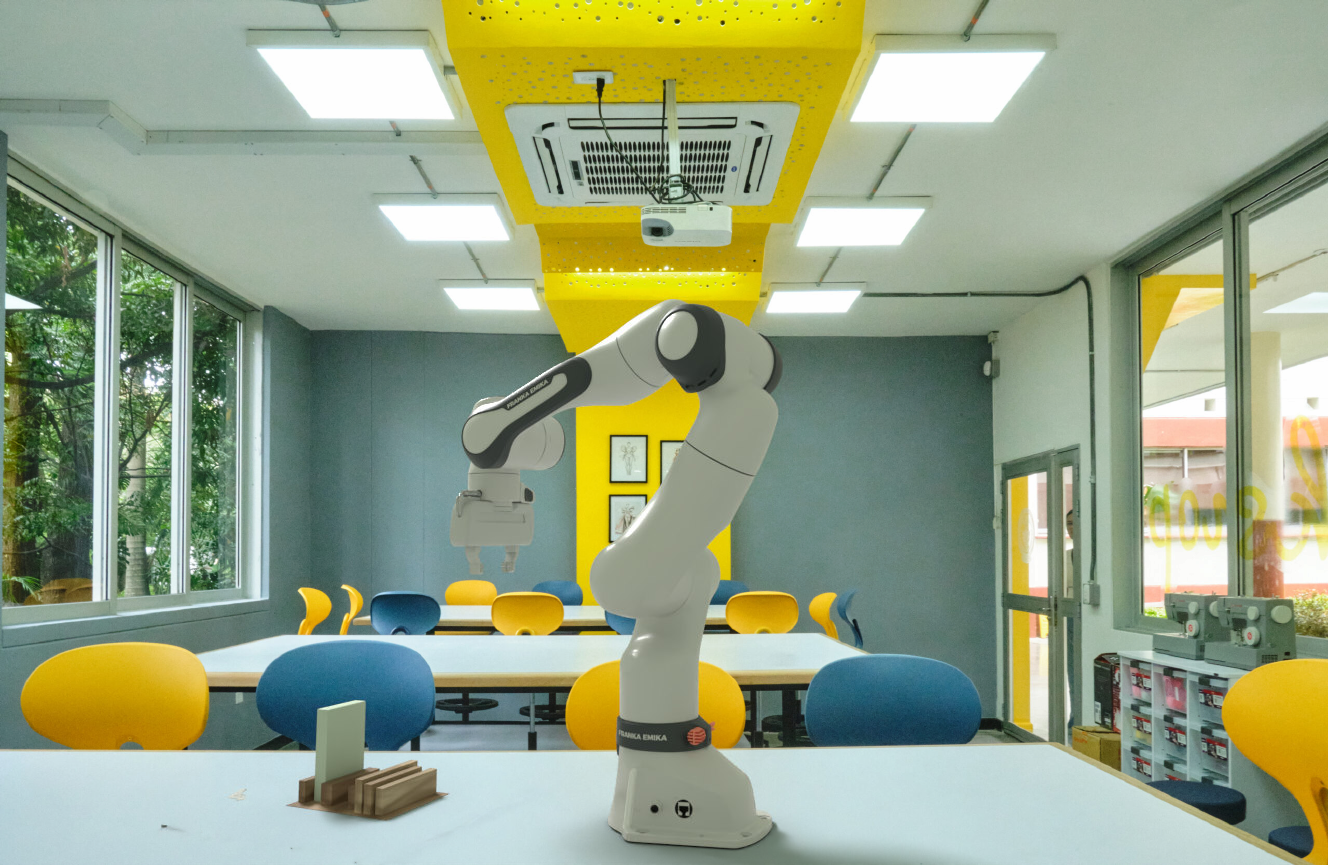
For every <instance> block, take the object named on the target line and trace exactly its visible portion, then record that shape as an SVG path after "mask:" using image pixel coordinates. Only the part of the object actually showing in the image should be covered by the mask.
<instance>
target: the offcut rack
mask: <svg viewBox="0 0 1328 865" xmlns="http://www.w3.org/2000/svg"><path fill="white" fill-rule="evenodd" d="M418 764H419V762H418V760H416V759H415V760H414V759H410V760H407V761H404V762H401V763H399V764H396V765H393V766H390V767H387V768H383V769H380V768H377V767H367V768H366V767H365V768H364V769H363V770H360V771H357V772H354V773H351V774H348V775H345V776H342V777H339V778H336V779H333V780H330V781H327V782H324V783H321V802H318V801H314V788H315V774H314V775H311V776H309V777H305V778H303V779H299V780H298V796H297V798H298V799H297V800H298V801H295V802H291V803H289V804H286V805H285V807H291V808H292V807H293V808H298V809H299V808H300V809H306V810H313V811H318V812H319V811H320V812H326V813H334V814H338V815H339V814H341V815H346V816H347V815H348V816H354V817H360V818H367V819H373V820H381V821H388V820H390V819H394V818H395V817H397V816H400V815H402V814H405V813H407V812H410V811H411V810H414V809H417V808H419V807H421V806H423V805H426V804H429V803H431V802H433V801H435V800H438V799H440V798H443V797H445V796H449V794H450V793H449V792H440V791H437V780H438V778H437V777H438V776H437V774H438V769H437V768H434V767H429V768H426V769H423V766H421V765H418Z"/></svg>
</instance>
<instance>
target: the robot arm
mask: <svg viewBox="0 0 1328 865" xmlns="http://www.w3.org/2000/svg"><path fill="white" fill-rule="evenodd" d="M783 370H784V365H783V359H782V355H781V353H780V351H779V349H778V347H777V346H776V345H775V344H774V343H773V342H772V340H770V339H769V338H768V337H767V336H766V335H764V334H762V333H760V332H757V331H755V330H754V329H753V328H751V327H749V326H748V325H746V324H745V323H744V322H743V321H741V320H739V319H738V318H735V317H733V316H731V315H728V314H726V313H724V312H720V311H717V310H715V309H714V308H712V307H710V306H708V305H704V304H699V303H688V302H685V301H684V300H681V299H675V298H673V299H672V298H671V299H666V300H664V301H662V302H660V303H658V304H656V305H653V306H652V307H650V308H648V309H646V310H645V311H643V312H641V313H639V314H638V315H636V316H634V317H633V318H631V319H630V320H629V321H628V322H626V323H625V324H624V325H622V326H621V327H619V328H618V329H617V330H615V332H613V333H611V334H610V335H609V336H607V337H606V338H604V339H602V340H601V341H599V342H598V343H597V344H595V345H594V346H592V347H591V348H589V349H587V350H585V351H583V352H581V353H579V354H577V355H575V356H573V357H571V358H569V359H566V360H564V361H563V362H560V363H558V364H557V365H555V366H553V367H552V368H550V369H548V370H545V372H543V373H542V374H540V375H538V376H537V377H535V378H534V379H532V380H531V381H529V382H528V383H526V384H525V385H523V386H522V387H520V388H518V389H517V390H516V391H514V392H512V393H511V394H509V395H508V396H507V395H497V396H489V397H484V398H481V399H480V400H479V401H477V402H476V403H475V404H474V405H473V409H472V410H471V413H470V415H469V416H468V417H467V419H466V420H465V422H464V424H463V426H462V430H461V437H460V438H461V445H462V448H463V450H464V451H463V452H464V453H465V455H466V456H467V458H468V460H469V461H470V464H469V468H468V472H467V489H463V490H462V489H461V491H460V493H459V494H458V495H457V496H456V497H455V503H454V505H453V507H452V511H451V518H450V526H449V527H450V528H449V541H450V544H451V545H452V546H453V547H460V548H461V547H464V554H465V556H466V559H467V561H468V564H469V574H470V575H475V576H476V575H477V576H478V575H483V574H484V566H485V565H484V563H482V562H481V558H480V554H481V552H482V548H481V547H504V552H505V553H506V554H505V557H504V561H503V562H501V572H502V573H505V574H506V573H508V574H509V573H514V572H515V571H516V561H517V559H518V556H519V553H520V546H530V545H531V543H532V542H533V539H534V533H535V532H534V531H535V511H534V507H533V505H532V504H534V503H536V492H535V491H534V490H532V489H531V488H529V487H528V486H527V485H526V484H525V483H524V482H523V481H521V471H524V470H526V471H544V470H548V469H549V470H550V469H552V468H554V467H555V466H556V465H558V464H559V462H560V461H561V460H562V458H563V456H564V453H565V449H566V433H565V430H564V428H563V425H562V424H561V423H560V421H559V420H558V419H557V418H555V417H554V416H555V415H557V414H559V413H561V412H563V411H566V410H569V409H573V408H574V409H575V408H580V407H582V408H583V407H589V406H590V407H593V406H595V407H596V406H597V407H598V406H603V407H605V406H607V407H608V406H610V407H611V406H612V407H613V406H615V407H616V406H620V407H621V406H628V405H631V404H635V403H637V402H639V401H642V400H644V399H645V398H648V397H649V396H652V394H654V393H656V392H658V391H659V390H660V389H661V388H662V387H664V386H665V385H666V384H667V383H669V382H670V381H671V380H673V379H675V380H676V383H678V385H679V386H680V387H681V388H682V390H683V392H685V393H687V394H695V393H696V394H697V397H698V401H699V408H698V413H697V415H696V417H695V420H694V422H693V423H692V426H691V427H690V429H689V431H688V433H687V435H686V436H685V438H684V441H683V442H682V445H681V446H680V448H679V450H678V452H677V454H676V456H675V458H674V460H673V462H672V463H671V466H670V468H669V469H668V471H667V473H666V475H665V476H664V478H663V480H662V483H661V484H660V486H659V487H658V489H657V490H656V491H655V492H654V494H653V496H652V497H651V498H650V500H649V501H648V502H646V504H645V506H644V507H643V508H642V510H641V511H640V512H639V513H638V514H637V516H636V517H635V518H634V519H633V520H632V521H631V523H630V524H629V525H628V527H627V528H626V529H625V530H624V531H623V532H622V533H621V535H619V537H617V538H616V539H615V540H614V541H613V542H611V543H610V544H608V545H607V546H605V547H603V549H601V550H600V551H599V552H598V553H597V555H596V556H595V558H594V559H593V561H592V564H591V566H590V570H589V587H590V591H591V594H592V596H593V598H594V600H595V601H596V603H597V604H598V606H599V607H600V608H602V610H604V611H606V612H607V613H610V614H612V615H616V616H619V617H623V618H629V619H631V620H632V619H634V620H635V623H634V624H635V625H634V628H633V632H632V635H631V638H630V640H629V643H628V645H627V647H626V649H624V651H623V653H622V655H621V657H620V662H619V714H618V715H617V717H616V733H615V743H616V745H615V746H616V755H617V756H618V760H617V769H616V778H615V779H616V780H615V786H614V793H613V799H612V804H611V807H610V812H609V815H608V818H607V824H608V825H609V826H610V827H611V828H612V829H614V830H616V831H617V832H619V833H620V834H621V836H622V838H623V840H625V841H627V842H634V843H650V844H663V845H667V844H668V845H675V846H676V845H677V846H678V845H681V846H692V847H693V846H694V847H708V848H709V847H710V848H722V849H723V848H724V849H739V848H743V847H747V846H749V845H753V844H755V843H757V842H759V841H760V840H762V839H763V838H764V837H765V836H767V835H768V833H769V832H770V831H771V830H772V828H773V820H772V816H771V814H770V813H769V811H764V810H760V809H757V807H756V800H755V798H756V797H755V792H754V788H753V786H752V781H751V780H750V778H749V776H748V775H747V773H746V772H744V770H742V769H740V768H739V767H738V766H737V765H735V764H734V762H732V761H731V760H730V759H729V758H728V757H726V756H725V755H724V753H722V752H721V751H719V750H718V748H716V747H715V746H714V745H713V744H712V740H713V739H712V738H713V737H712V736H713V735H712V733H713V731H714V730H716V728H715V727H714V726H715V724H716V721H712V722H710V723H708V722H707V721H706V720H705V719H704V718H703V717H702V716H701V714H699V663H700V653H701V645H702V641H703V635H704V630H705V626H706V622H707V621H706V620H707V617H708V613H709V612H708V611H709V607H710V604H711V601H712V600H713V597H714V595H715V594H716V592H717V590H718V589H719V586H720V581H721V567H720V564H719V561H718V559H717V557H716V555H715V554H714V553H713V551H712V550H710V549H709V548H708V546H709V545H710V544H711V543H712V542H713V541H714V539H715V538H716V537H717V536H719V534H720V533H722V532H723V531H724V530H726V529H727V527H729V525H730V524H731V522H732V521H733V519H734V517H735V516H736V513H737V512H738V509H739V508H740V506H741V504H742V502H743V500H744V498H745V496H746V495H747V492H748V491H749V490H750V489H749V488H750V487H751V486H752V483H753V481H754V479H755V478H756V476H757V473H758V472H759V470H760V468H761V466H762V463H763V461H764V459H765V457H766V454H767V452H768V450H769V447H770V444H771V443H772V442H771V441H772V439H773V436H774V433H775V430H776V425H777V423H778V419H779V409H778V405H777V403H776V401H775V399H774V398H773V397H772V395H771V394H772V393H773V392H774V391H775V390H776V388H777V387H778V385H779V383H780V381H781V379H782V377H783Z"/></svg>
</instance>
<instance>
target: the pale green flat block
mask: <svg viewBox="0 0 1328 865" xmlns="http://www.w3.org/2000/svg"><path fill="white" fill-rule="evenodd" d="M316 713H317V714H316V734H315V735H316V739H315V741H316V742H315V765H314V766H315V769H314V775H315V788H314V801H318V802H321V783H324V782H327V781H330V780H333V779H336V778H339V777H342V776H345V775H348V774H351V773H354V772H357V771H360V770H363V769H365V768H364V766H365V764H364V763H365V739H366V738H365V735H366V734H365V733H366V732H365V731H366V700H360V699H359V700H357V699H355V700H350V701H345V702H343V703H338V704H334V705H330V706H324V707H320V708H317V711H316Z"/></svg>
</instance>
